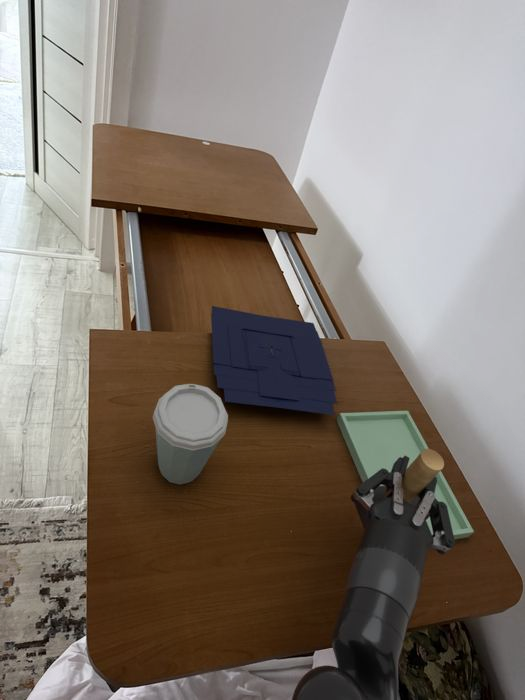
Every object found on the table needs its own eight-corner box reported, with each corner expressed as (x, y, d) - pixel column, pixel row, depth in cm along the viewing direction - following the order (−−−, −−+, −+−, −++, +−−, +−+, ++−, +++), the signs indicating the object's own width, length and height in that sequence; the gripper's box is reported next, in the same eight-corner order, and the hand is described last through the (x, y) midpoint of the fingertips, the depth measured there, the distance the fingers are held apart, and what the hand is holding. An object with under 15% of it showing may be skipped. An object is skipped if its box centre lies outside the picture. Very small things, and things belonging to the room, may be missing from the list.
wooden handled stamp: (423, 522, 73) (473, 473, 64) (364, 529, 69) (408, 479, 61) (409, 491, 76) (454, 441, 67) (351, 496, 72) (391, 444, 64)
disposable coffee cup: (212, 498, 78) (235, 442, 68) (141, 497, 75) (154, 439, 65) (208, 440, 85) (227, 382, 75) (143, 438, 82) (154, 377, 72)
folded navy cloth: (211, 411, 88) (215, 396, 86) (208, 315, 112) (211, 302, 110) (339, 426, 94) (346, 412, 92) (310, 332, 118) (315, 319, 115)
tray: (467, 537, 86) (474, 531, 84) (390, 549, 80) (396, 543, 79) (403, 416, 103) (408, 410, 101) (335, 419, 97) (340, 412, 95)
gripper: (319, 553, 61) (360, 455, 73) (426, 619, 58) (449, 507, 71) (343, 523, 56) (383, 424, 68) (461, 595, 54) (479, 479, 66)
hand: (416, 467), depth 70 cm, fingers closed on wooden handled stamp, 3 cm apart
